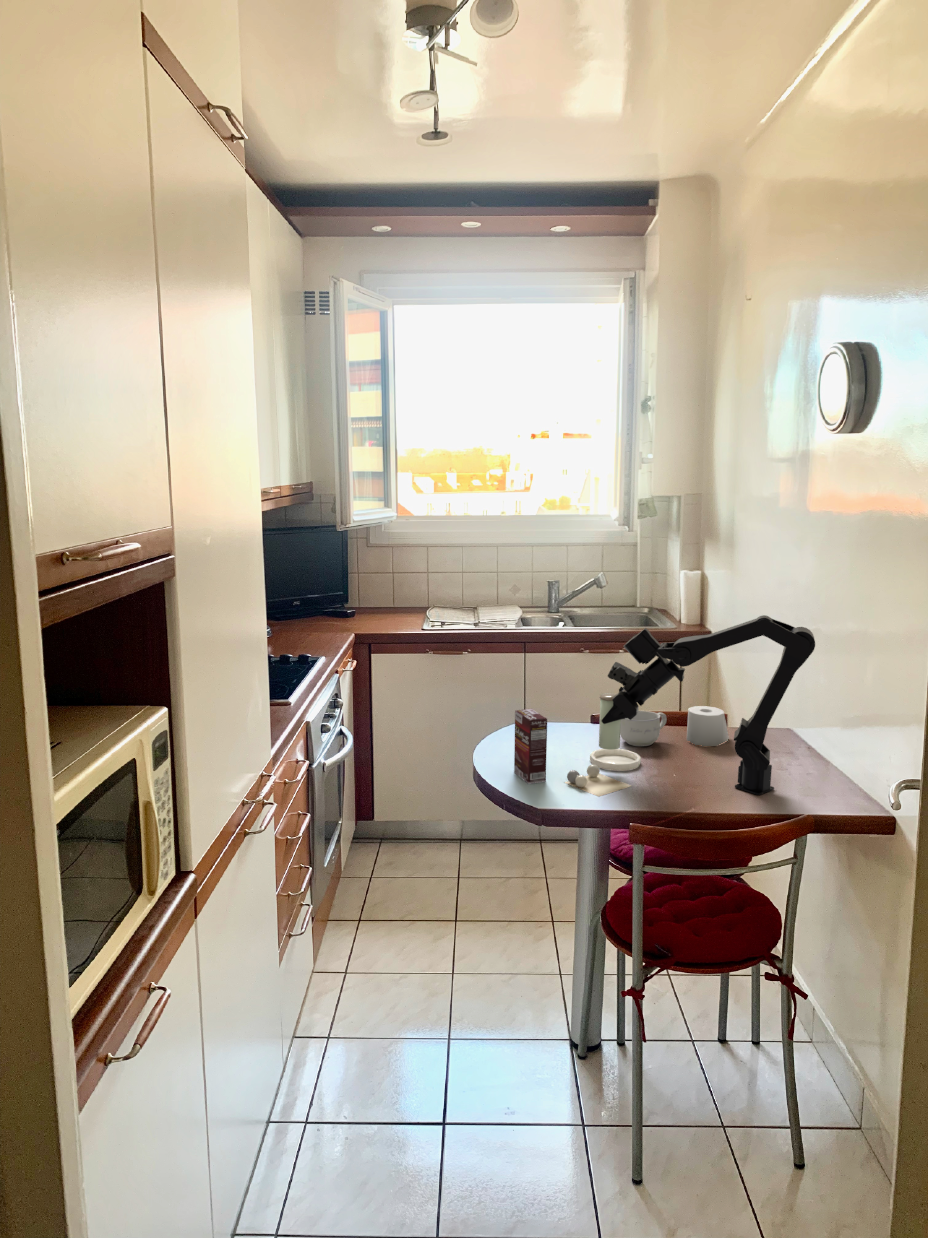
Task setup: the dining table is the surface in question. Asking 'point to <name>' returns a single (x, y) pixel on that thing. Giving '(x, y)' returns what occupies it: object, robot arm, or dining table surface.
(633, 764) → the round white tray
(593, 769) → the glossy white ball
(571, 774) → the pebble
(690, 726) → the toilet tissue
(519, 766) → the supplement box
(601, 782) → the board
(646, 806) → the dining table surface
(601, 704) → the pale green lidded canister
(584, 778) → the pebble
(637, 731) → the teacup
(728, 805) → the dining table surface
